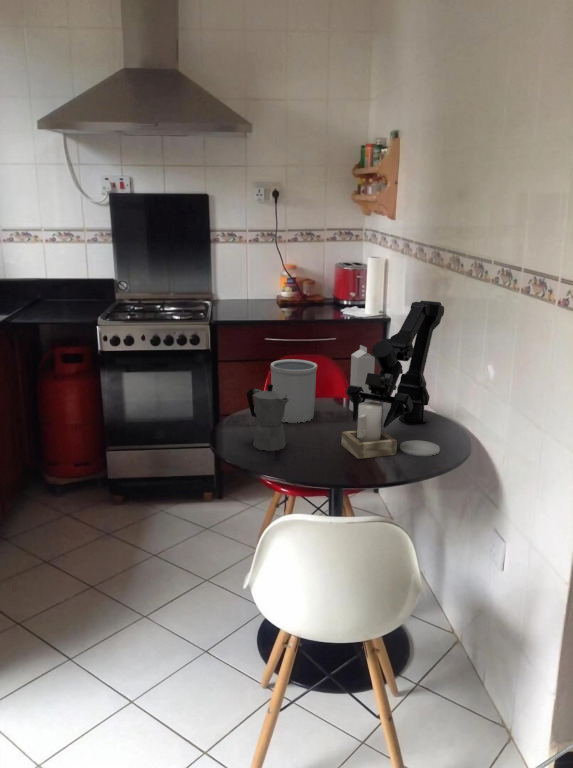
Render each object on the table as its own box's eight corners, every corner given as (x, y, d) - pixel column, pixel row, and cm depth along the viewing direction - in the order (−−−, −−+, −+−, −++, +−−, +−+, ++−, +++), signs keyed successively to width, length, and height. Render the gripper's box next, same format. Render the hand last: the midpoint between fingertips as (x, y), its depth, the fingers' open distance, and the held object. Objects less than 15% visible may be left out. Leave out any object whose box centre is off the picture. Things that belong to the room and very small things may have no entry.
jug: (362, 444, 192) (364, 400, 188) (383, 448, 188) (385, 404, 185) (347, 453, 184) (349, 408, 181) (368, 458, 181) (371, 412, 177)
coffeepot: (298, 447, 189) (299, 385, 184) (275, 455, 182) (276, 391, 177) (258, 435, 198) (258, 376, 194) (235, 442, 191) (235, 381, 187)
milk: (355, 414, 220) (357, 348, 215) (349, 409, 226) (351, 345, 220) (372, 413, 222) (375, 347, 216) (365, 407, 227) (368, 344, 222)
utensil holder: (325, 417, 216) (326, 364, 212) (293, 427, 206) (294, 371, 202) (292, 407, 226) (293, 357, 222) (260, 416, 216) (260, 363, 212)
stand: (377, 441, 194) (378, 428, 193) (396, 454, 184) (396, 440, 183) (341, 445, 191) (341, 431, 190) (358, 458, 180) (358, 444, 179)
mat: (426, 441, 195) (427, 438, 195) (447, 454, 185) (447, 451, 185) (392, 445, 191) (393, 442, 191) (412, 458, 181) (412, 455, 181)
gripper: (350, 357, 190) (330, 403, 184) (411, 366, 181) (392, 414, 174) (361, 379, 199) (342, 423, 192) (420, 388, 189) (403, 435, 183)
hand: (368, 424), depth 185 cm, fingers open, 9 cm apart
